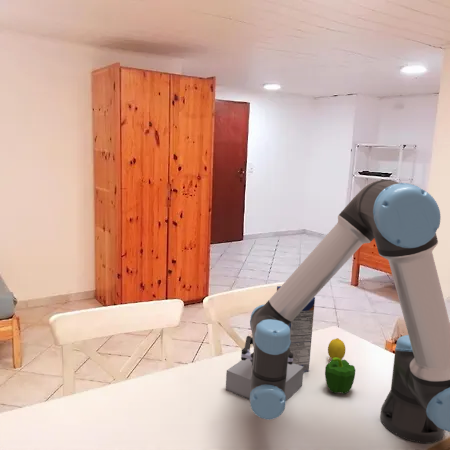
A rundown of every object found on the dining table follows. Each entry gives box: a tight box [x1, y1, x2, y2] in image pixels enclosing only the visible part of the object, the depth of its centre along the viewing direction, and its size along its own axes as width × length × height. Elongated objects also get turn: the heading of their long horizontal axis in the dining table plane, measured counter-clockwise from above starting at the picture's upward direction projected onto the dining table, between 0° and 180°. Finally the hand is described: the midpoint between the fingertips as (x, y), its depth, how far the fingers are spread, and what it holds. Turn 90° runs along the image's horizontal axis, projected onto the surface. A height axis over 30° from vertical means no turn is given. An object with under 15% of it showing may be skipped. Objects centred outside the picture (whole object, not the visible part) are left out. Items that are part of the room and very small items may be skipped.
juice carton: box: [276, 285, 316, 373], centre depth 141 cm, size 12×8×24 cm, turn 16°
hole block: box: [225, 351, 304, 402], centre depth 128 cm, size 16×16×6 cm
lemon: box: [327, 338, 346, 360], centre depth 146 cm, size 6×6×8 cm
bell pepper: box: [324, 357, 356, 395], centre depth 129 cm, size 8×8×10 cm
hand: (266, 331), depth 131 cm, fingers closed on pin, 4 cm apart
